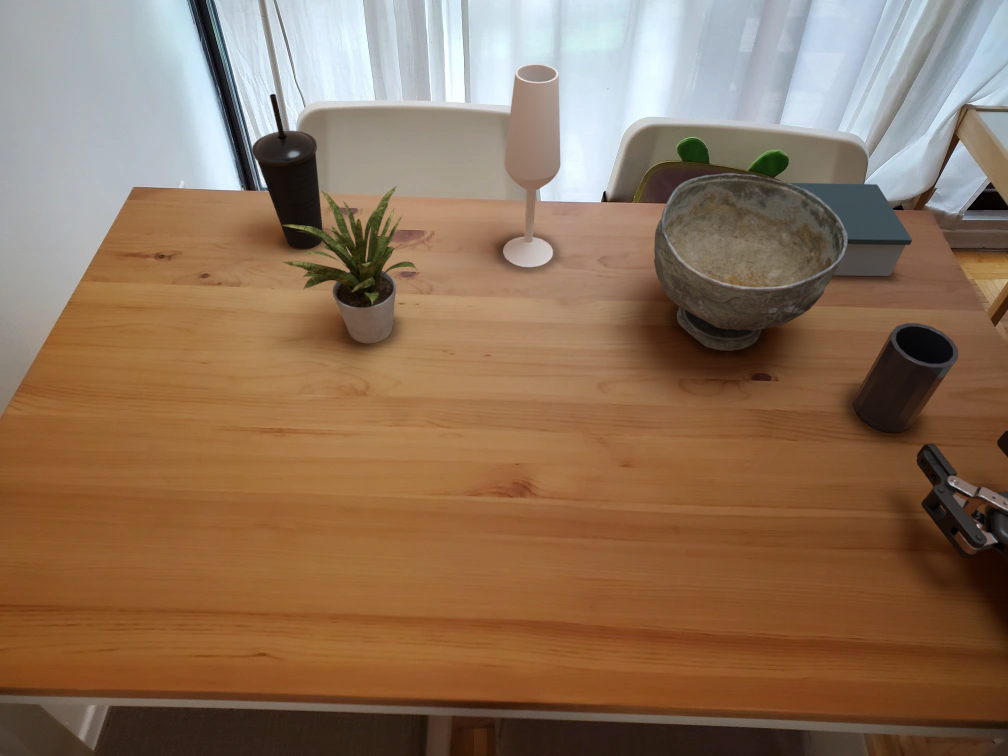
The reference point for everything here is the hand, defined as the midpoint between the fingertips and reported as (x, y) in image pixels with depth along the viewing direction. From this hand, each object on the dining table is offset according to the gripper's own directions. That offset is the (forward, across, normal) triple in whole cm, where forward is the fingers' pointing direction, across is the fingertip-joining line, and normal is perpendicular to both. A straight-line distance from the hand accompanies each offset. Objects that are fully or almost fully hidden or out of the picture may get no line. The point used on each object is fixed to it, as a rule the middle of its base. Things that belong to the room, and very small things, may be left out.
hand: (964, 442), depth 67 cm
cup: (+9, 0, +6) cm, 11 cm away
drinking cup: (+52, +60, +6) cm, 80 cm away
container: (+37, -9, +6) cm, 38 cm away
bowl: (+25, +12, +6) cm, 28 cm away
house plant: (+34, +53, +6) cm, 63 cm away
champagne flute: (+44, +32, +6) cm, 54 cm away
